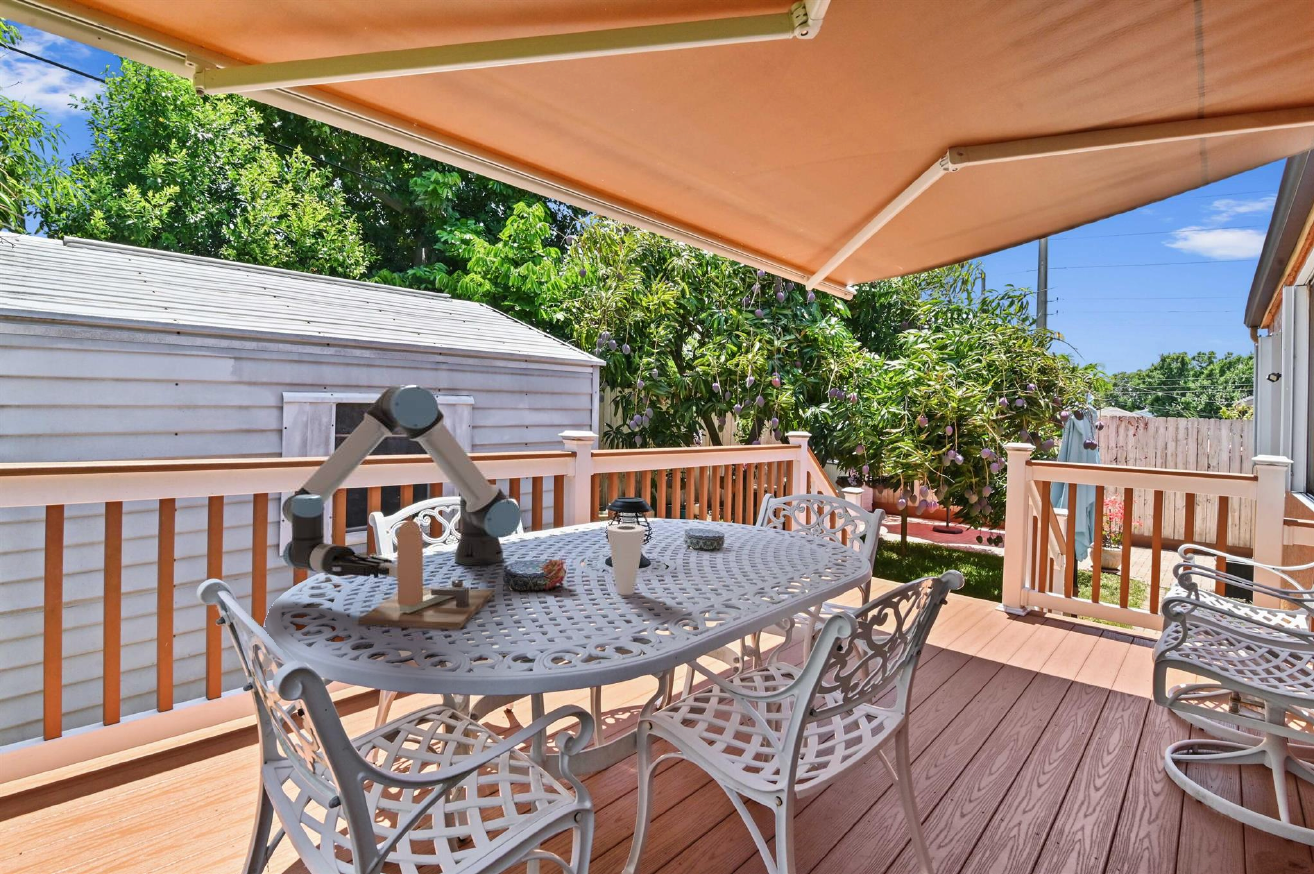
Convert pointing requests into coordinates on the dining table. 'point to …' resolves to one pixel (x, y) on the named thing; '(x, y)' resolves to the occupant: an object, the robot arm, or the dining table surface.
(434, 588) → the keeper
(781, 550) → the dining table surface
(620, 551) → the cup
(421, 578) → the link
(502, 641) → the dining table surface
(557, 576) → the flower
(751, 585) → the dining table surface
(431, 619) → the board
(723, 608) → the dining table surface
